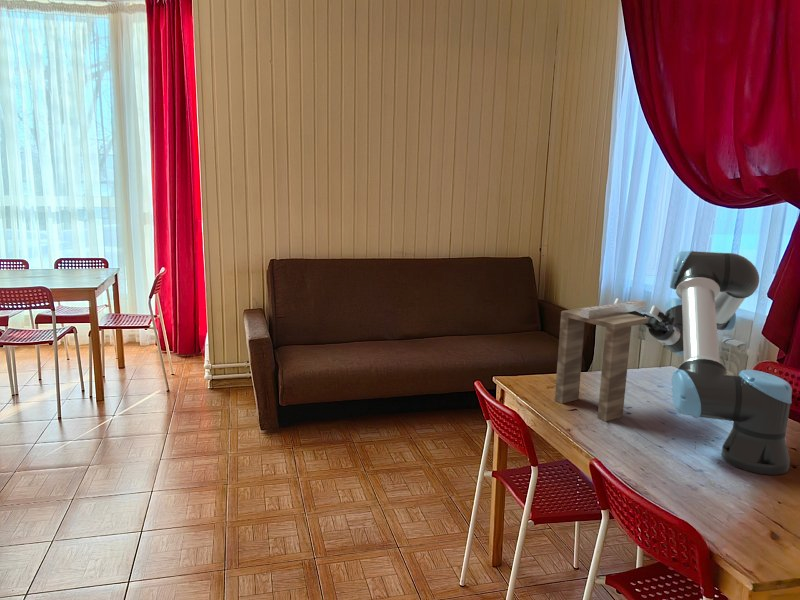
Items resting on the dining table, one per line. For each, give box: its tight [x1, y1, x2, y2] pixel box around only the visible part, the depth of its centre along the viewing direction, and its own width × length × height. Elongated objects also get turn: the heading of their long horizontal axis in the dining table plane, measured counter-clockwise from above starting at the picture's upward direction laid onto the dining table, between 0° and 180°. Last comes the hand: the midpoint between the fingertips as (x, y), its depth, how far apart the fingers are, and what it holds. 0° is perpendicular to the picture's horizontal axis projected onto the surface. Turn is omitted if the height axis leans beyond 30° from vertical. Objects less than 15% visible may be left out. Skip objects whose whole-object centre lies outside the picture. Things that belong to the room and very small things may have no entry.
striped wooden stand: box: [554, 305, 648, 422], centre depth 189 cm, size 20×16×30 cm
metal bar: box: [581, 299, 647, 319], centre depth 188 cm, size 3×28×2 cm, turn 124°
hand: (633, 305), depth 194 cm, fingers open, 13 cm apart
